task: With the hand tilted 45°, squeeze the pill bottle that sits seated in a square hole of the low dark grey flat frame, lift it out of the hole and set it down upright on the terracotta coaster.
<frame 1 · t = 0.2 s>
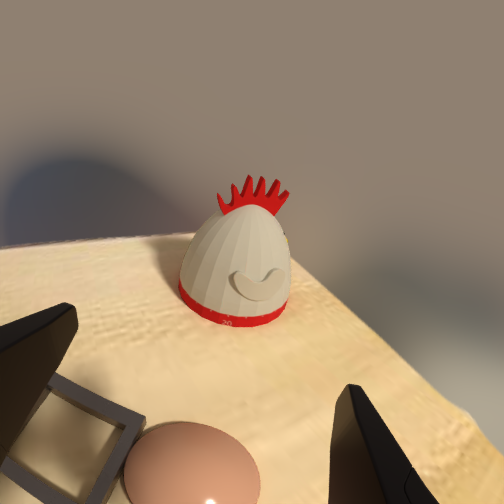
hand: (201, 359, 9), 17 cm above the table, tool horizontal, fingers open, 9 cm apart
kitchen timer: (232, 291, 41), on the table
dark grey flat frame: (11, 411, 18), on the table
coaster: (191, 479, 19), on the table
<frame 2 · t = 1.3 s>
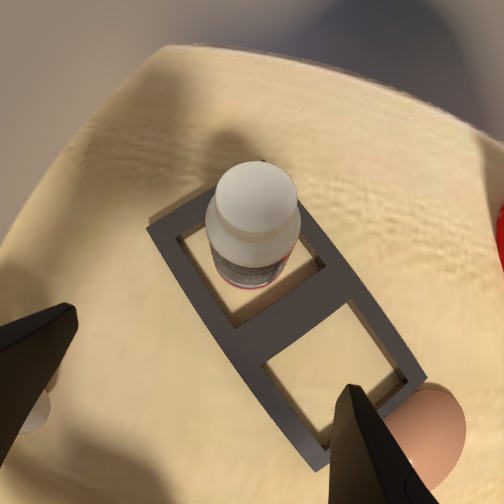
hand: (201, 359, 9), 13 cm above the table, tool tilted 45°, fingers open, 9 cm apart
donut: (29, 385, 20), on the table
dark grey flat frame: (288, 311, 23), on the table
pill bottle: (249, 257, 24), resting in dark grey flat frame
coaster: (417, 446, 20), on the table
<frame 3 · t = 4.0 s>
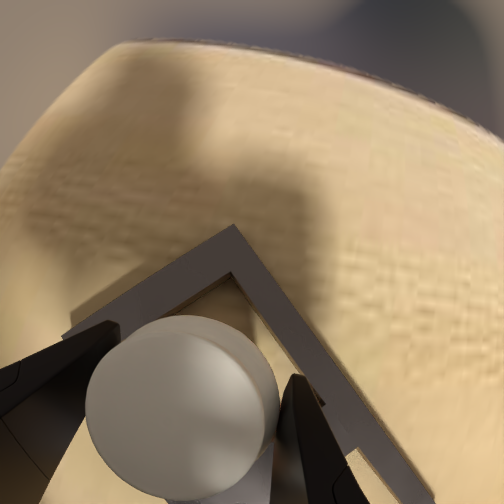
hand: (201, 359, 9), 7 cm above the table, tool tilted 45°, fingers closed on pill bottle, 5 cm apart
dark grey flat frame: (266, 458, 14), on the table
pill bottle: (210, 383, 15), resting in dark grey flat frame, touching gripper
when the fingers open (8 cm above the table, at t = 9.5 s): pill bottle stays where it is, resting on coaster.
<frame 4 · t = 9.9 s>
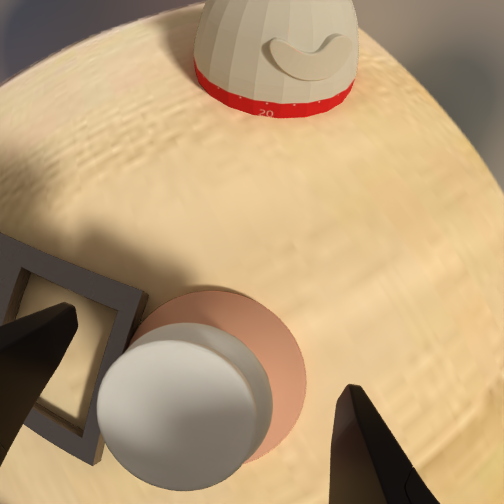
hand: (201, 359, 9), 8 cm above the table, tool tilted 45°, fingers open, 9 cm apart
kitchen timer: (274, 65, 25), on the table
pill bottle: (209, 384, 16), resting on coaster
coaster: (212, 381, 16), on the table
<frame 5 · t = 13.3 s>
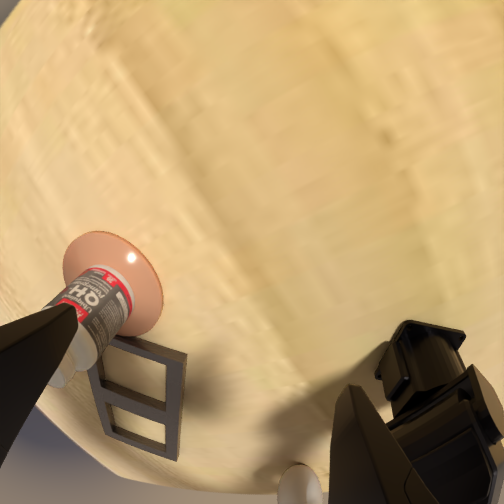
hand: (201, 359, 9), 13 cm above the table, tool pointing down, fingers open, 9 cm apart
donut: (304, 466, 34), on the table
dark grey flat frame: (137, 401, 32), on the table
pill bottle: (110, 289, 25), resting on coaster
coaster: (110, 285, 25), on the table
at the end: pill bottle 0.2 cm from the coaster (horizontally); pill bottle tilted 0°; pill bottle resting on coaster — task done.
